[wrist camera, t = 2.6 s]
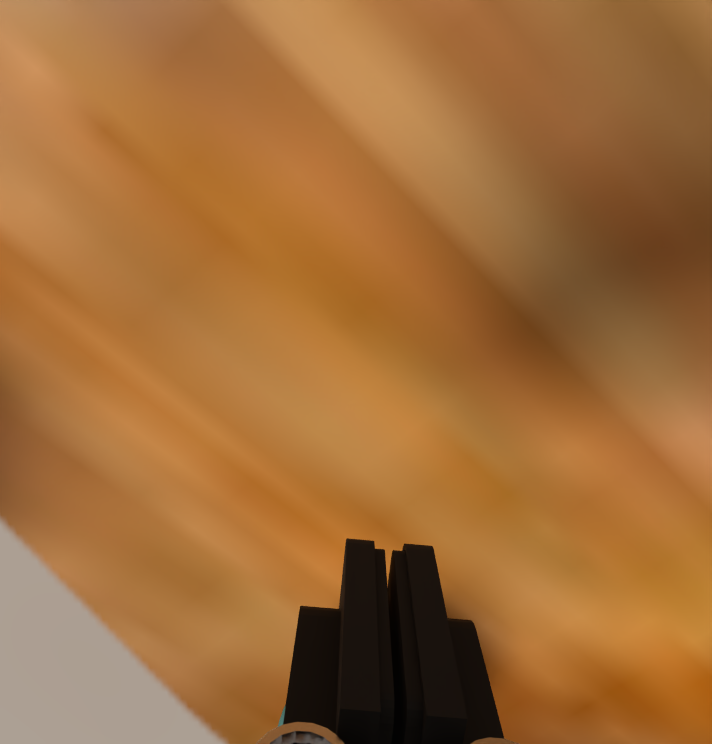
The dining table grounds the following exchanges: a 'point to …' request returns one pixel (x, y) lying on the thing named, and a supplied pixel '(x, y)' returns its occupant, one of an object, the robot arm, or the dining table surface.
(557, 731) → the dining table surface
